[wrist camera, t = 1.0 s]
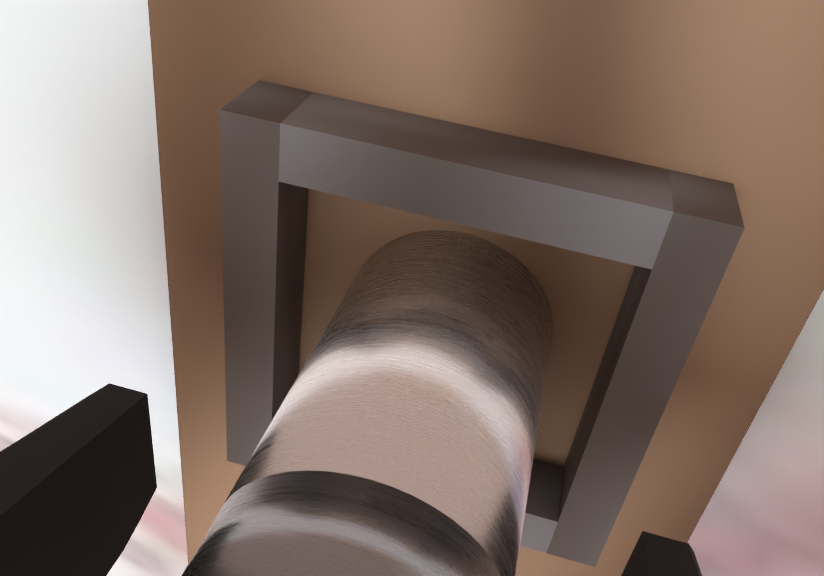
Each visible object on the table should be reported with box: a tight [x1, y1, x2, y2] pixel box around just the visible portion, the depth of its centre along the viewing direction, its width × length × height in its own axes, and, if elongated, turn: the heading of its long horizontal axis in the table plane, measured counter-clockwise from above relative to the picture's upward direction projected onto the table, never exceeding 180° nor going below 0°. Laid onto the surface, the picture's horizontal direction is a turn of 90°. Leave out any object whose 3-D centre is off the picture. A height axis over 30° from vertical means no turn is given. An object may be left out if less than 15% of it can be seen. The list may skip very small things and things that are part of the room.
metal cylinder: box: [182, 230, 553, 576], centre depth 12 cm, size 4×4×8 cm
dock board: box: [148, 0, 824, 576], centre depth 18 cm, size 12×28×2 cm, turn 172°
